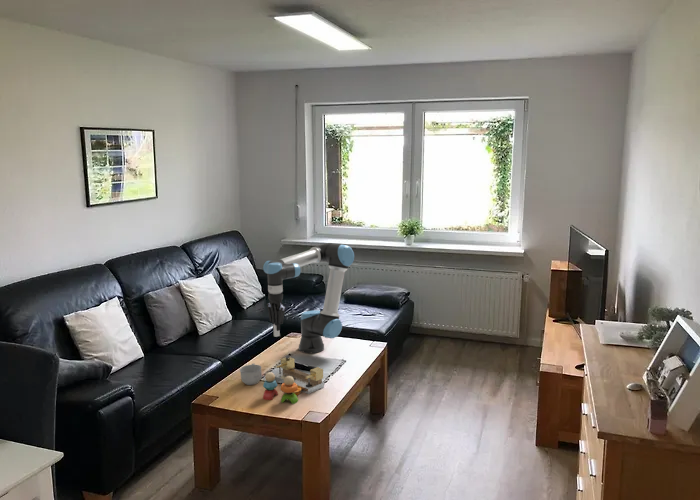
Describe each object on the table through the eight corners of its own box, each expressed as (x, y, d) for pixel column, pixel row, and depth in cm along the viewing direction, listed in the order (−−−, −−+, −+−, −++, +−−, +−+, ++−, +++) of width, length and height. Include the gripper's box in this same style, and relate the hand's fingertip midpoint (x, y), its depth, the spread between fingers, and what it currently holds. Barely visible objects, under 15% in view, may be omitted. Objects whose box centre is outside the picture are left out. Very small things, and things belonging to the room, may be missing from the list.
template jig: (287, 373, 301) (287, 356, 300) (324, 386, 284) (323, 369, 282) (271, 379, 293) (271, 362, 292) (308, 393, 276) (307, 375, 274)
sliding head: (288, 368, 301) (287, 353, 299) (294, 370, 297) (294, 355, 296) (274, 373, 293) (273, 358, 292) (280, 376, 290) (280, 360, 289)
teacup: (257, 387, 284) (256, 372, 282) (237, 386, 286) (236, 371, 284) (267, 377, 297) (266, 362, 296) (247, 375, 299) (246, 361, 298)
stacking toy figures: (306, 390, 280) (305, 366, 278) (294, 405, 263) (294, 380, 261) (271, 387, 284) (270, 363, 282) (258, 402, 267) (257, 377, 265)
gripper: (261, 291, 297) (263, 335, 301) (278, 295, 288) (279, 340, 292) (272, 289, 303) (274, 331, 307) (289, 293, 294) (290, 336, 298)
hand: (276, 335), depth 299 cm, fingers closed
